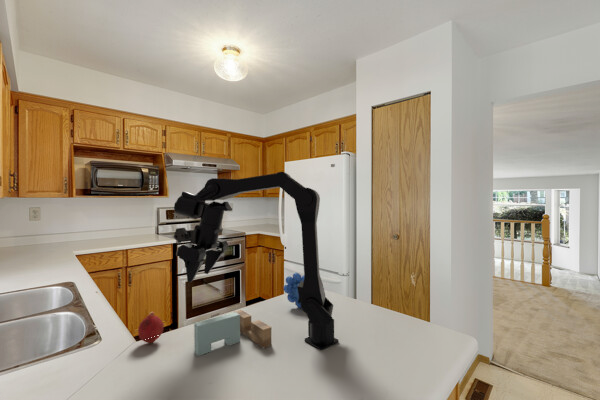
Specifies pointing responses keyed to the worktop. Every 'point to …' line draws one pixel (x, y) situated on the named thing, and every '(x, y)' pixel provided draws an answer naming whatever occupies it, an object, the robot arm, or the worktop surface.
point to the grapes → (293, 288)
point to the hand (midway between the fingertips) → (198, 277)
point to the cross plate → (216, 332)
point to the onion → (150, 328)
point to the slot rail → (255, 329)
